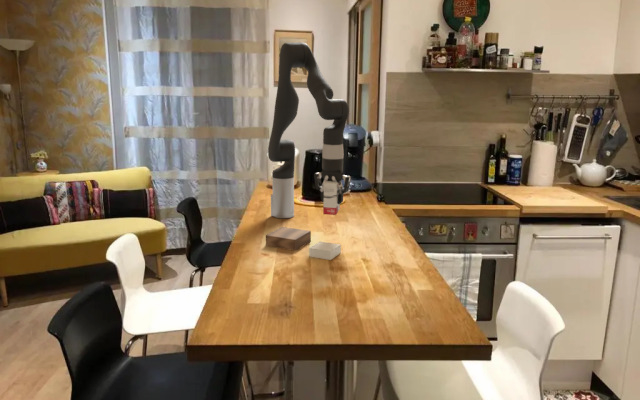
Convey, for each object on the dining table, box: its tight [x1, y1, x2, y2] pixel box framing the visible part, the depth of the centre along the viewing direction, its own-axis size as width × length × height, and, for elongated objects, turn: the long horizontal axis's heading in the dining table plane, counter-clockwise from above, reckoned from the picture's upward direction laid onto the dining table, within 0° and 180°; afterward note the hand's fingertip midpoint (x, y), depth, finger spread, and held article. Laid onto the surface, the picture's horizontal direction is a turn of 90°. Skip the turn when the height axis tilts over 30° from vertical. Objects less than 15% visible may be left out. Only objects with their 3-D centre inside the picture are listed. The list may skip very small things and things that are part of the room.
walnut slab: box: [265, 226, 312, 251], centre depth 187 cm, size 12×12×4 cm
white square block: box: [308, 241, 342, 261], centre depth 176 cm, size 8×8×3 cm
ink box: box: [322, 180, 341, 216], centre depth 186 cm, size 9×5×12 cm, turn 169°
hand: (331, 202), depth 187 cm, fingers closed on ink box, 5 cm apart
